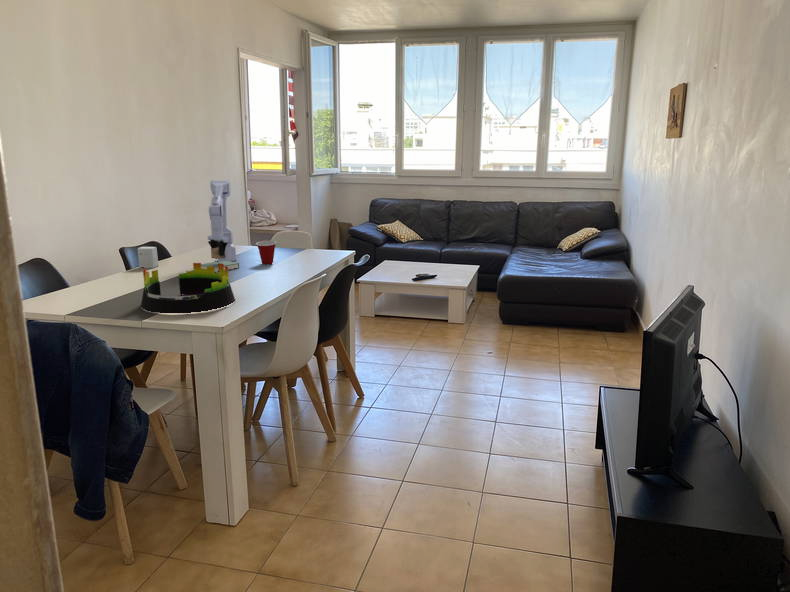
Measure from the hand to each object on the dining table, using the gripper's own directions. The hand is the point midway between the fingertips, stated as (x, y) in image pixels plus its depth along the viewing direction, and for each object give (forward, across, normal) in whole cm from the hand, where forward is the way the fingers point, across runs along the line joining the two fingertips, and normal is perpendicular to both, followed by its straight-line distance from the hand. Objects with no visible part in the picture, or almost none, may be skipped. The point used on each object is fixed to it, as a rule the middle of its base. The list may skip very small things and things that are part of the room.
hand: (218, 254), depth 318 cm
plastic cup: (+8, +8, +25) cm, 27 cm away
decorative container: (+8, +50, -51) cm, 72 cm away
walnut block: (+2, 0, 0) cm, 2 cm away
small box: (+8, -32, -21) cm, 39 cm away
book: (+8, 0, 0) cm, 8 cm away
